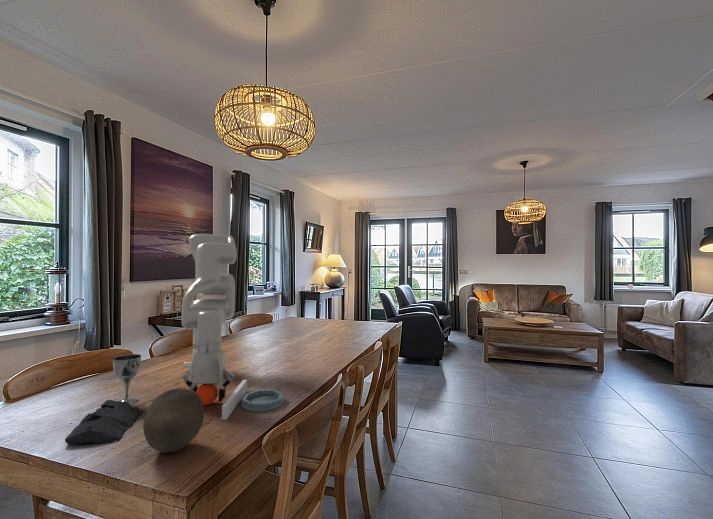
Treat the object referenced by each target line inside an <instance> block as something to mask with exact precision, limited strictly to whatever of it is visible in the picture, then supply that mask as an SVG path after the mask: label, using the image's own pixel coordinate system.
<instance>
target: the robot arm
mask: <svg viewBox="0 0 713 519" xmlns="http://www.w3.org/2000/svg"><path fill="white" fill-rule="evenodd" d="M188 246H189V250H190V252H191V254H192V257H193V260H194V263H195V264H194V265H195V274H194V275H195V279H194V280H195V281H194V282H193V283H192V284H191V285H190V286H189V288H187V289H186V291H185V293H184V294H183V297H182V301H181V326H182V327H183V329H185V330H188V331H189V330H191V331H192V361H184V362H183V363H182V366H183V368H189V369H188V371H187V373H185V374H184V375H183V376H182V380H183V382H185V384H186V385H187V386H188V388H189V389H190V390H193V391H194V392H196V391H197V389H198V388H199V386H198V385H200V384H201V385H202V384H217V386H218V385H219V386H218V387H219V389H218V402H220V403H221V402H222V401H223V400H224V399H225V397H226V387H227V386H228V385H229V384H230V383H231V382H232V380H234V378H235V374H234V373H232V372H230V371H229V370H228V369H226V360H225V355H224V350H223V349H222V327H223V326H224V324H225V323H226V320H231V319H233V317H234V315H235V310H236V309H235V308H236V307H235V306H236V304H235V303H236V301H235V300H236V298H235V297H236V282H235V278H234V276H233V274H231V273H224V272H223V273H221V265H233V264H235V263H236V261H237V254H238V252H237V246H236V243H235V238H234V237H233V236H232V235H230V234H215V233H214V234H213V233H194V234H192V235H191V236H189V238H188ZM197 295H199V296H223V297H207V298H206V297H205V298H204V297H202V298H197V299H195V300H194V301H193V302H192V299H193V298H194V297H195V296H197ZM191 302H192V303H191ZM226 377H227V380H226V381H225V378H226Z"/></svg>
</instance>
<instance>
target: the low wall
mask: <svg viewBox="0 0 713 519" xmlns="http://www.w3.org/2000/svg"><path fill="white" fill-rule="evenodd" d="M247 391H248V379H242V380H241V382H240V383H239V384H238V386H237V387H236V388H235V389H234V391H233V392H231V394H230V396H229V397H228V398H227V399H226V401H225V402H224V403H223V405H222V406H221V420H223V421H224V420H226V421H227V420H228V419H229V418H230V415H231V414H232V413H233V411H234V410H235V409H236V407H237V406H238V404H239V402H241V401H242V399H243V397H244V396H245V394H247Z"/></svg>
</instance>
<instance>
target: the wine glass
mask: <svg viewBox="0 0 713 519" xmlns="http://www.w3.org/2000/svg"><path fill="white" fill-rule="evenodd" d="M141 364H142V354H139V353H130V354H123V355H117V356H115V357H113V358H112V367H113V372H114V375H115V377H116V378H117V379H118V380H120V381H121V382H122V383H123V385H124V390H125V391H124V393H125V396H124V398H120V399H121V400H120V399H118V400H117V401H121V402H127V403H128V404H130V403H133V404H135V403H134V402H136V401H137V400H138V399H139V398H138V397H135V398H133V397H132V396H131V397H132V398H130V397H129V389H130V385H131V382H132V381H133V379H134V378H135V377H136V376H137V375H138V374H139V372H140V369H141V366H142V365H141ZM137 398H138V399H137ZM137 402H138V401H137ZM137 402H136V403H137ZM130 405H131V404H130Z"/></svg>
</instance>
